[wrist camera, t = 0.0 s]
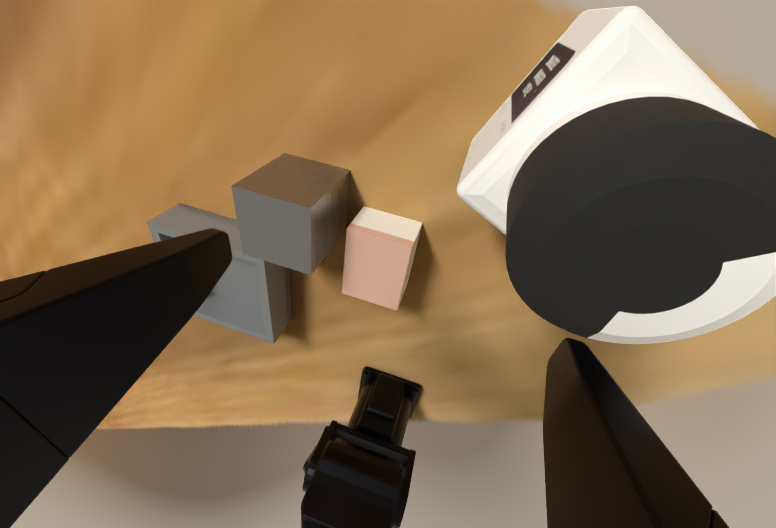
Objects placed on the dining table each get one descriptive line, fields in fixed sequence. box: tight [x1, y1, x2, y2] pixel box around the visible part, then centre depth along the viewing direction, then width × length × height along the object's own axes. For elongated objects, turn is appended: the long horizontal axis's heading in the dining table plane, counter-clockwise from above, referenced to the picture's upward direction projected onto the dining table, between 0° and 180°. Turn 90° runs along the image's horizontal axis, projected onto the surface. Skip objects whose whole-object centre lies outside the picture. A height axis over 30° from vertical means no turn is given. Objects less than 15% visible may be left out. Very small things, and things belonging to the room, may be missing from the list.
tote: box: [147, 203, 292, 344], centre depth 31 cm, size 11×11×4 cm
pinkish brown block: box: [342, 206, 422, 311], centre depth 25 cm, size 6×4×4 cm
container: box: [457, 6, 776, 344], centre depth 13 cm, size 8×8×13 cm
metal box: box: [232, 153, 350, 275], centre depth 23 cm, size 5×5×6 cm
